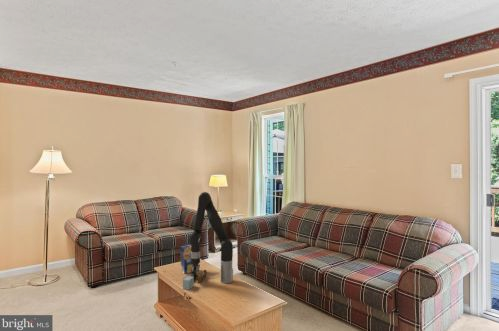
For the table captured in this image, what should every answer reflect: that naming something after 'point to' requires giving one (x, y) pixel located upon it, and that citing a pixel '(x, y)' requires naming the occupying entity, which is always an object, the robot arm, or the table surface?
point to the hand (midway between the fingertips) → (195, 278)
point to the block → (188, 282)
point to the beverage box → (186, 259)
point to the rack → (201, 277)
